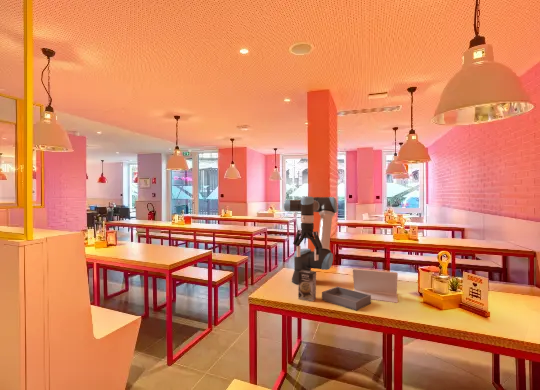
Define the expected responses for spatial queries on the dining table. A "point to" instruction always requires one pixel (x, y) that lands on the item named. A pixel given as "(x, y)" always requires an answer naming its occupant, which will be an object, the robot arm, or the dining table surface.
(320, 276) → the dining table surface
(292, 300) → the dining table surface
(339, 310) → the dining table surface
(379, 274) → the tablet stand
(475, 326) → the dining table surface
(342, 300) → the tray
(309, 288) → the coffee box
